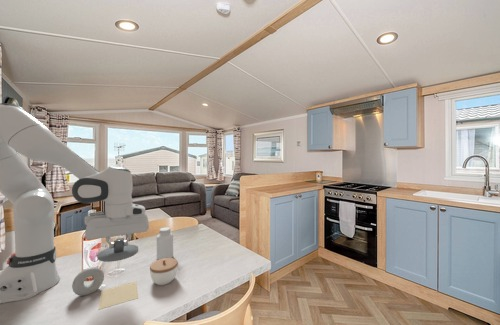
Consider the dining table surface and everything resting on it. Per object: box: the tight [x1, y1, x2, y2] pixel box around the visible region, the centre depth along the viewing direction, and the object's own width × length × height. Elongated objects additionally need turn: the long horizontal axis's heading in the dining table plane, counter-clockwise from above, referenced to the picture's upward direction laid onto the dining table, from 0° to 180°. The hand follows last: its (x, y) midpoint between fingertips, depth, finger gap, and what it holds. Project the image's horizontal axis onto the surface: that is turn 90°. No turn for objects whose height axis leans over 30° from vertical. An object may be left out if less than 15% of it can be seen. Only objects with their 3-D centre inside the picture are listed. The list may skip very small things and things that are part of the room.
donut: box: [71, 266, 105, 297], centre depth 82 cm, size 10×4×10 cm, turn 141°
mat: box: [98, 281, 139, 310], centre depth 81 cm, size 12×12×1 cm
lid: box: [97, 238, 139, 263], centre depth 81 cm, size 13×13×5 cm
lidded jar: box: [149, 257, 179, 286], centre depth 90 cm, size 11×11×9 cm
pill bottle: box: [156, 226, 174, 260], centre depth 111 cm, size 8×8×15 cm
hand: (118, 246), depth 81 cm, fingers closed on lid, 3 cm apart
